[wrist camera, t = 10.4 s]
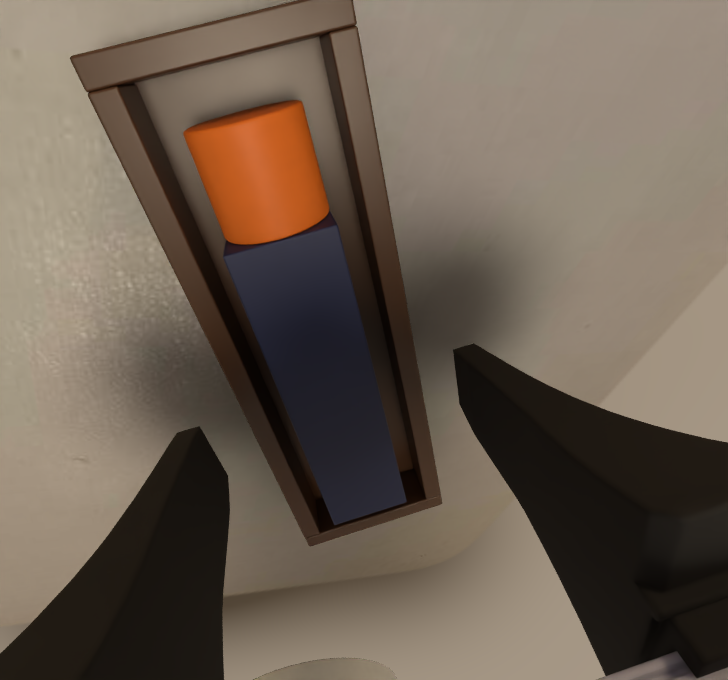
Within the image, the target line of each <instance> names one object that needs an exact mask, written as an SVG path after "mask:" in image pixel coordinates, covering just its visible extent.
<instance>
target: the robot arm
mask: <svg viewBox="0 0 728 680" xmlns="http://www.w3.org/2000/svg"><path fill="white" fill-rule="evenodd" d="M453 353H454V362H455V370H456V378H457V386H458V395H459V403H460V406H461V408H462V410H463V412H464V414H465V416H466V418H467V420H468V422H469V424H470V426H471V428H472V430H473V432H474V434H475V436H476V437H477V439H478V440H479V442H480V443H481V445H482V446H483V448H484V449H485V451H486V453H487V454H488V456H489V457H490V459H491V460H492V462H493V463H494V465H495V466H496V468H497V469H498V471H499V472H500V474H501V475H502V477H503V478H504V480H505V481H506V483H507V484H508V486H509V487H510V489H511V490H512V492H513V493H514V495H515V496H516V498H517V499H518V501H519V503H520V504H521V506H522V508H523V509H524V511H525V513H526V515H527V517H528V518H529V520H530V522H531V524H532V526H533V528H534V530H535V532H536V534H537V535H538V537H539V539H540V541H541V543H542V545H543V547H544V549H545V551H546V553H547V555H548V556H549V559H550V560H551V563H552V564H553V566H554V568H555V570H556V572H557V574H558V576H559V578H560V580H561V582H562V584H563V586H564V588H565V591H566V593H567V595H568V597H569V598H570V601H571V603H572V605H573V607H574V609H575V611H576V613H577V615H578V617H579V619H580V621H581V623H582V625H583V628H584V630H585V632H586V634H587V636H588V638H589V641H590V643H591V645H592V647H593V649H594V651H595V654H596V656H597V658H598V660H599V662H600V664H601V666H602V669H603V671H604V673H605V675H606V676H605V677H603V678H600V679H597V680H728V443H727V442H722V441H716V440H711V439H706V438H702V437H698V436H694V435H689V434H685V433H681V432H677V431H673V430H669V429H665V428H661V427H658V426H654V425H651V424H647V423H644V422H641V421H638V420H634V419H631V418H628V417H624V416H622V415H619V414H616V413H613V412H610V411H607V410H605V409H602V408H600V407H597V406H594V405H592V404H589V403H587V402H584V401H581V400H579V399H577V398H574V397H572V396H570V395H568V394H565V393H563V392H561V391H559V390H557V389H555V388H553V387H551V386H548V385H546V384H544V383H542V382H541V381H539V380H537V379H535V378H533V377H531V376H529V375H527V374H525V373H524V372H522V371H520V370H518V369H516V368H515V367H513V366H511V365H509V364H508V363H506V362H504V361H503V360H501V359H499V358H498V357H496V356H494V355H493V354H491V353H489V352H487V351H486V350H484V349H482V348H481V347H479V346H477V345H476V344H470V345H467V346H464V347H460V348H457V349H454V350H453ZM229 515H230V502H229V483H228V475H227V473H226V471H225V470H224V468H223V466H222V464H221V463H220V461H219V459H218V457H217V456H216V454H215V452H214V451H213V449H212V447H211V445H210V444H209V442H208V440H207V438H206V437H205V435H204V433H203V431H202V430H201V428H200V426H198V427H195V428H191V429H188V430H185V431H181V432H178V433H177V434H176V435H175V437H174V438H173V440H172V441H171V443H170V444H169V446H168V447H167V449H166V451H165V452H164V454H163V455H162V457H161V458H160V460H159V462H158V463H157V465H156V466H155V468H154V469H153V471H152V473H151V474H150V476H149V477H148V479H147V480H146V482H145V483H144V485H143V486H142V488H141V489H140V491H139V492H138V494H137V495H136V497H135V498H134V500H133V501H132V503H131V504H130V505H129V507H128V508H127V510H126V511H125V512H124V514H123V515H122V517H121V518H120V519H119V521H118V522H117V524H116V525H115V526H114V528H113V529H112V531H111V532H110V533H109V535H108V536H107V537H106V539H105V540H104V541H103V543H102V544H101V545H100V546H99V548H98V549H97V550H96V551H95V553H94V554H93V555H92V556H91V558H90V559H89V560H88V561H87V562H86V564H85V565H84V566H83V567H82V568H81V569H80V571H79V572H78V573H77V574H76V575H75V577H74V578H73V579H72V580H71V581H70V582H69V583H68V584H67V586H66V587H65V588H64V589H63V590H62V591H61V592H60V593H59V594H58V595H57V596H56V597H55V598H54V600H53V601H52V602H51V603H50V604H49V605H48V606H47V607H46V608H45V609H44V610H43V611H42V612H41V613H40V615H39V616H38V617H37V618H36V619H35V620H34V621H33V622H32V623H31V624H30V625H29V626H28V627H27V628H26V629H25V630H24V631H23V632H22V633H21V634H20V635H19V636H18V637H17V638H16V639H15V640H14V641H13V642H12V643H11V644H10V645H9V646H8V647H7V648H6V649H5V650H4V651H3V652H1V653H0V680H224V669H223V634H222V633H223V629H222V605H223V588H224V576H225V564H226V553H227V541H228V529H229Z"/></svg>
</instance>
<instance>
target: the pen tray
mask: <svg viewBox="0 0 728 680" xmlns="http://www.w3.org/2000/svg"><path fill="white" fill-rule="evenodd" d="M355 25H356V16H355V11H354V5H353V0H298V1H294V2H290V3H285V4H281V5H277V6H273V7H269V8H265V9H261V10H257V11H253V12H249V13H245V14H241V15H237V16H232V17H228V18H224V19H220V20H216V21H212V22H208V23H204V24H200V25H196V26H192V27H188V28H184V29H179V30H175V31H171V32H167V33H163V34H159V35H155V36H151V37H147V38H143V39H139V40H135V41H131V42H126V43H122V44H118V45H114V46H110V47H106V48H102V49H98V50H94V51H90V52H86V53H82V54H78V55H73V56H71V57H70V60H71V62H72V64H73V66H74V68H75V70H76V72H77V74H78V76H79V79H80V81H81V83H82V85H83V87H84V89H85V90H86V91H87V92H89V93H88V97H89V99H90V101H91V103H92V105H93V107H94V109H95V111H96V113H97V115H98V117H99V119H100V121H101V123H102V125H103V127H104V129H105V131H106V133H107V136H108V138H109V140H110V142H111V144H112V146H113V148H114V150H115V152H116V154H117V156H118V158H119V160H120V162H121V164H122V166H123V168H124V170H125V172H126V174H127V176H128V178H129V180H130V182H131V184H132V186H133V188H134V191H135V193H136V195H137V197H138V199H139V201H140V203H141V205H142V207H143V209H144V211H145V213H146V215H147V217H148V219H149V221H150V223H151V225H152V227H153V229H154V231H155V233H156V235H157V237H158V239H159V241H160V243H161V246H162V248H163V250H164V252H165V254H166V256H167V258H168V260H169V262H170V264H171V266H172V268H173V270H174V272H175V274H176V276H177V278H178V280H179V282H180V284H181V286H182V288H183V290H184V292H185V294H186V296H187V298H188V301H189V303H190V305H191V307H192V309H193V311H194V313H195V315H196V317H197V319H198V321H199V323H200V325H201V327H202V329H203V331H204V333H205V335H206V337H207V339H208V341H209V343H210V345H211V347H212V349H213V351H214V354H215V356H216V358H217V360H218V362H219V364H220V366H221V368H222V370H223V372H224V374H225V376H226V378H227V380H228V382H229V384H230V386H231V388H232V390H233V392H234V394H235V396H236V398H237V400H238V402H239V404H240V406H241V409H242V411H243V413H244V415H245V417H246V419H247V421H248V423H249V425H250V427H251V429H252V431H253V433H254V435H255V437H256V439H257V441H258V443H259V445H260V447H261V449H262V451H263V453H264V455H265V457H266V459H267V461H268V464H269V466H270V468H271V470H272V472H273V474H274V476H275V478H276V480H277V482H278V484H279V486H280V488H281V490H282V492H283V494H284V496H285V498H286V500H287V502H288V504H289V506H290V508H291V510H292V512H293V514H294V516H295V519H296V521H297V523H298V525H299V527H300V529H301V531H302V533H303V535H304V537H305V539H306V541H307V543H308V545H309V546H313V545H316V544H320V543H323V542H326V541H329V540H332V539H335V538H338V537H341V536H344V535H347V534H351V533H354V532H357V531H360V530H363V529H366V528H369V527H372V526H375V525H379V524H382V523H385V522H388V521H391V520H394V519H397V518H400V517H403V516H406V515H410V514H413V513H416V512H419V511H422V510H425V509H428V508H431V507H434V506H438V505H441V504H442V499H441V494H440V488H439V482H438V476H437V471H436V465H435V460H434V454H433V448H432V443H431V437H430V431H429V426H428V420H427V415H426V409H425V403H424V398H423V392H422V387H421V381H420V375H419V370H418V364H417V359H416V353H415V347H414V342H413V336H412V330H411V325H410V319H409V314H408V308H407V302H406V297H405V291H404V286H403V280H402V274H401V269H400V263H399V258H398V252H397V246H396V241H395V235H394V229H393V224H392V218H391V213H390V207H389V201H388V196H387V190H386V185H385V179H384V173H383V168H382V162H381V157H380V151H379V145H378V140H377V134H376V128H375V123H374V117H373V112H372V106H371V100H370V95H369V89H368V84H367V78H366V72H365V67H364V61H363V56H362V50H361V44H360V39H359V33H358V28H357V26H355ZM290 100H300V101H302V103H303V106H304V110H305V114H306V118H307V122H308V126H309V130H310V134H311V138H312V141H313V145H314V149H315V153H316V157H317V161H318V165H319V169H320V173H321V177H322V181H323V185H324V189H325V192H326V196H327V200H328V204H329V210H330V211H331V213H332V215H333V217H334V219H335V221H336V223H337V225H338V228H339V232H340V236H341V240H342V244H343V248H344V252H345V256H346V260H347V264H348V268H349V272H350V276H351V280H352V284H353V288H354V292H355V296H356V300H357V304H358V308H359V312H360V316H361V320H362V324H363V328H364V332H365V336H366V340H367V344H368V348H369V352H370V356H371V360H372V364H373V368H374V372H375V376H376V380H377V384H378V388H379V392H380V396H381V400H382V404H383V408H384V412H385V416H386V420H387V424H388V428H389V432H390V436H391V440H392V444H393V448H394V452H395V456H396V460H397V464H398V468H399V472H400V476H401V480H402V484H403V488H404V492H405V496H406V500H407V501H406V502H405V503H402V504H399V505H396V506H393V507H390V508H387V509H384V510H380V511H377V512H374V513H371V514H368V515H365V516H362V517H359V518H356V519H352V520H349V521H346V522H343V523H340V524H337V525H334V523H333V521H332V519H331V516H330V514H329V511H328V509H327V507H326V504H325V502H324V499H323V497H322V494H321V492H320V490H319V487H318V485H317V482H316V480H315V478H314V475H313V473H312V470H311V468H310V466H309V463H308V461H307V458H306V456H305V454H304V451H303V449H302V446H301V444H300V442H299V439H298V437H297V434H296V432H295V430H294V427H293V425H292V422H291V420H290V418H289V415H288V413H287V410H286V408H285V406H284V403H283V401H282V398H281V396H280V394H279V391H278V389H277V386H276V384H275V382H274V379H273V377H272V374H271V372H270V370H269V367H268V365H267V362H266V360H265V357H264V355H263V353H262V350H261V348H260V345H259V343H258V341H257V338H256V336H255V333H254V331H253V329H252V326H251V324H250V321H249V319H248V317H247V314H246V312H245V309H244V307H243V305H242V302H241V300H240V297H239V295H238V293H237V290H236V288H235V285H234V283H233V281H232V278H231V276H230V273H229V271H228V269H227V266H226V264H225V261H224V259H223V254H224V248H225V242H226V239H225V237H224V235H223V232H222V230H221V227H220V225H219V222H218V220H217V217H216V215H215V212H214V210H213V207H212V205H211V202H210V200H209V197H208V195H207V192H206V190H205V187H204V185H203V182H202V180H201V177H200V175H199V172H198V170H197V168H196V165H195V163H194V160H193V158H192V155H191V153H190V150H189V148H188V145H187V143H186V140H185V138H184V135H183V132H184V131H185V130H186V129H188V128H190V127H192V126H194V125H197V124H200V123H202V122H205V121H208V120H211V119H215V118H218V117H221V116H225V115H228V114H232V113H235V112H239V111H243V110H247V109H251V108H255V107H259V106H263V105H268V104H273V103H278V102H283V101H290Z"/></svg>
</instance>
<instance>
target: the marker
mask: <svg viewBox="0 0 728 680" xmlns="http://www.w3.org/2000/svg"><path fill="white" fill-rule="evenodd" d="M183 135H184V138H185V140H186V143H187V145H188V148H189V150H190V153H191V155H192V158H193V160H194V163H195V165H196V168H197V170H198V172H199V175H200V177H201V180H202V182H203V185H204V187H205V190H206V192H207V195H208V197H209V200H210V202H211V205H212V207H213V210H214V212H215V215H216V217H217V220H218V222H219V225H220V227H221V230H222V232H223V235H224V237H225V239H226V242H225V248H224V254H223V259H224V261H225V264H226V266H227V269H228V271H229V273H230V276H231V278H232V281H233V283H234V285H235V288H236V290H237V293H238V295H239V297H240V300H241V302H242V305H243V307H244V309H245V312H246V314H247V317H248V319H249V321H250V324H251V326H252V329H253V331H254V333H255V336H256V338H257V341H258V343H259V345H260V348H261V350H262V353H263V355H264V357H265V360H266V362H267V365H268V367H269V370H270V372H271V374H272V377H273V379H274V382H275V384H276V386H277V389H278V391H279V394H280V396H281V398H282V401H283V403H284V406H285V408H286V410H287V413H288V415H289V418H290V420H291V422H292V425H293V427H294V430H295V432H296V434H297V437H298V439H299V442H300V444H301V446H302V449H303V451H304V454H305V456H306V458H307V461H308V463H309V466H310V468H311V470H312V473H313V475H314V478H315V480H316V482H317V485H318V487H319V490H320V492H321V494H322V497H323V499H324V502H325V504H326V507H327V509H328V511H329V514H330V516H331V519H332V521H333V523H334V525H337V524H340V523H343V522H346V521H349V520H352V519H356V518H359V517H362V516H365V515H368V514H371V513H374V512H377V511H380V510H384V509H387V508H390V507H393V506H396V505H399V504H402V503H405V502H406V501H407V500H406V496H405V492H404V488H403V484H402V480H401V476H400V472H399V468H398V464H397V460H396V456H395V452H394V448H393V444H392V440H391V436H390V432H389V428H388V424H387V420H386V416H385V412H384V408H383V404H382V400H381V396H380V392H379V388H378V384H377V380H376V376H375V372H374V368H373V364H372V360H371V356H370V352H369V348H368V344H367V340H366V336H365V332H364V328H363V324H362V320H361V316H360V312H359V308H358V304H357V300H356V296H355V292H354V288H353V284H352V280H351V276H350V272H349V268H348V264H347V260H346V256H345V252H344V248H343V244H342V240H341V236H340V232H339V228H338V225H337V223H336V221H335V219H334V217H333V215H332V213H331V211H330V210H329V204H328V200H327V196H326V192H325V189H324V185H323V181H322V177H321V173H320V169H319V165H318V161H317V157H316V153H315V149H314V145H313V141H312V138H311V134H310V130H309V126H308V122H307V118H306V114H305V110H304V106H303V103H302V101H300V100H290V101H283V102H278V103H273V104H268V105H263V106H259V107H255V108H251V109H247V110H243V111H239V112H235V113H232V114H228V115H225V116H221V117H218V118H215V119H211V120H208V121H205V122H202V123H200V124H197V125H194V126H192V127H190V128H188V129H186V130H185V131H184V132H183Z"/></svg>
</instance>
